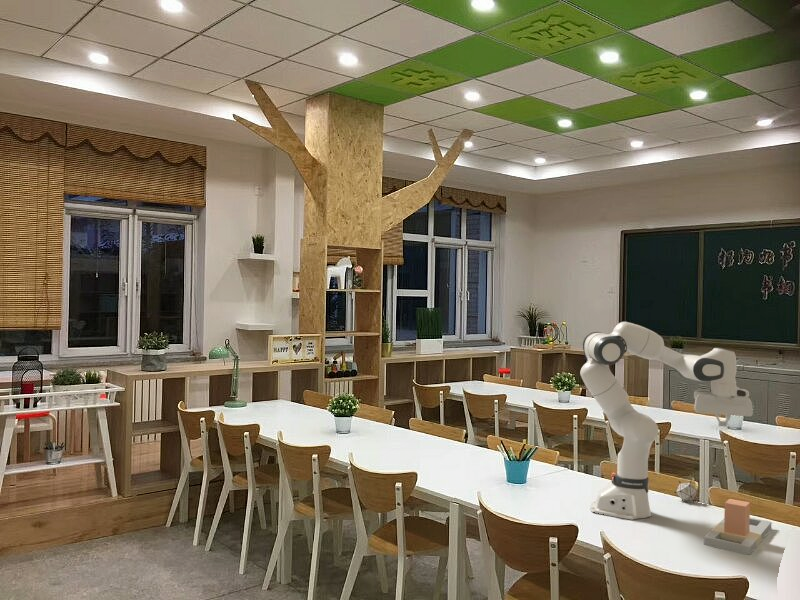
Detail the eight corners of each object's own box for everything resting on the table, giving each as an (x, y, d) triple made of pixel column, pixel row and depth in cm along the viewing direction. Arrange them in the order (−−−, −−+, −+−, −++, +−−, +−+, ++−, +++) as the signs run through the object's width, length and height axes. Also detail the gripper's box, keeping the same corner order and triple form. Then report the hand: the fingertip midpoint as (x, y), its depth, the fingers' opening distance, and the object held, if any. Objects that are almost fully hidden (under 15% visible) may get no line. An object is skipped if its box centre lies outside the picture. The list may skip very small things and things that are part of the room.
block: (728, 527, 237) (729, 498, 237) (749, 531, 233) (749, 502, 233) (724, 531, 232) (724, 502, 232) (744, 536, 228) (745, 506, 228)
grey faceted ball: (687, 509, 278) (696, 487, 281) (696, 507, 270) (706, 485, 273) (667, 497, 280) (677, 476, 283) (676, 495, 272) (685, 473, 275)
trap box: (729, 520, 253) (729, 513, 253) (771, 528, 244) (771, 521, 244) (703, 544, 226) (703, 537, 226) (749, 555, 218) (749, 547, 218)
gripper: (694, 389, 260) (693, 425, 260) (753, 392, 252) (753, 429, 252) (693, 387, 266) (692, 422, 266) (751, 391, 258) (751, 427, 258)
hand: (722, 426), depth 259 cm, fingers closed
